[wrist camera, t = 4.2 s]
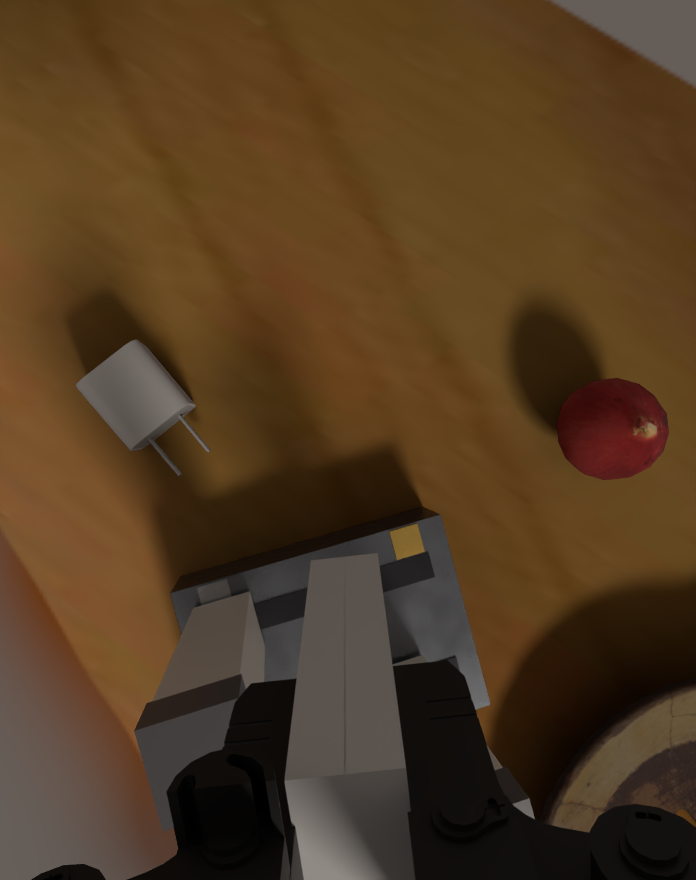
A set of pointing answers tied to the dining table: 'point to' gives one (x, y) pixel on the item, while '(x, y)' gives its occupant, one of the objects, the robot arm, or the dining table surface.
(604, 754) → the broken bowl
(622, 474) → the onion
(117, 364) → the usb wall charger
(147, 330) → the dining table surface
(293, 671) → the console
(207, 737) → the grey square post
